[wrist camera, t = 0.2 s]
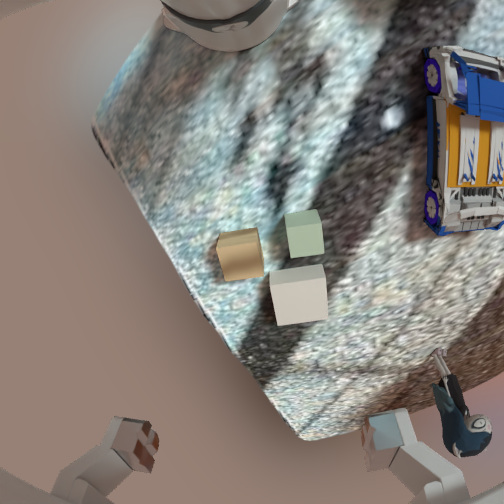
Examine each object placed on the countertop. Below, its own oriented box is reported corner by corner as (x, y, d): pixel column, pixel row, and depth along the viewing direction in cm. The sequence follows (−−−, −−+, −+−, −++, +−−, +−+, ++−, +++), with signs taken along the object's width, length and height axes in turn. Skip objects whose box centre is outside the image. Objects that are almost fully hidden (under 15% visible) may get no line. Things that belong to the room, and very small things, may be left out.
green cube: (284, 213, 47) (286, 228, 43) (316, 209, 47) (321, 222, 42) (288, 242, 50) (290, 258, 45) (319, 237, 49) (324, 253, 45)
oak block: (220, 232, 49) (215, 248, 45) (257, 226, 49) (256, 242, 44) (228, 264, 52) (225, 281, 48) (264, 259, 52) (263, 276, 47)
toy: (464, 344, 62) (507, 438, 36) (438, 370, 67) (472, 463, 41) (434, 334, 60) (480, 443, 34) (406, 363, 65) (439, 470, 39)
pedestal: (269, 271, 53) (269, 285, 49) (321, 263, 51) (325, 277, 48) (277, 311, 57) (277, 325, 53) (325, 304, 56) (328, 318, 52)
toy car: (417, 221, 47) (444, 251, 38) (415, 43, 32) (449, 37, 24) (485, 216, 45) (515, 241, 36) (491, 58, 30) (529, 61, 22)
